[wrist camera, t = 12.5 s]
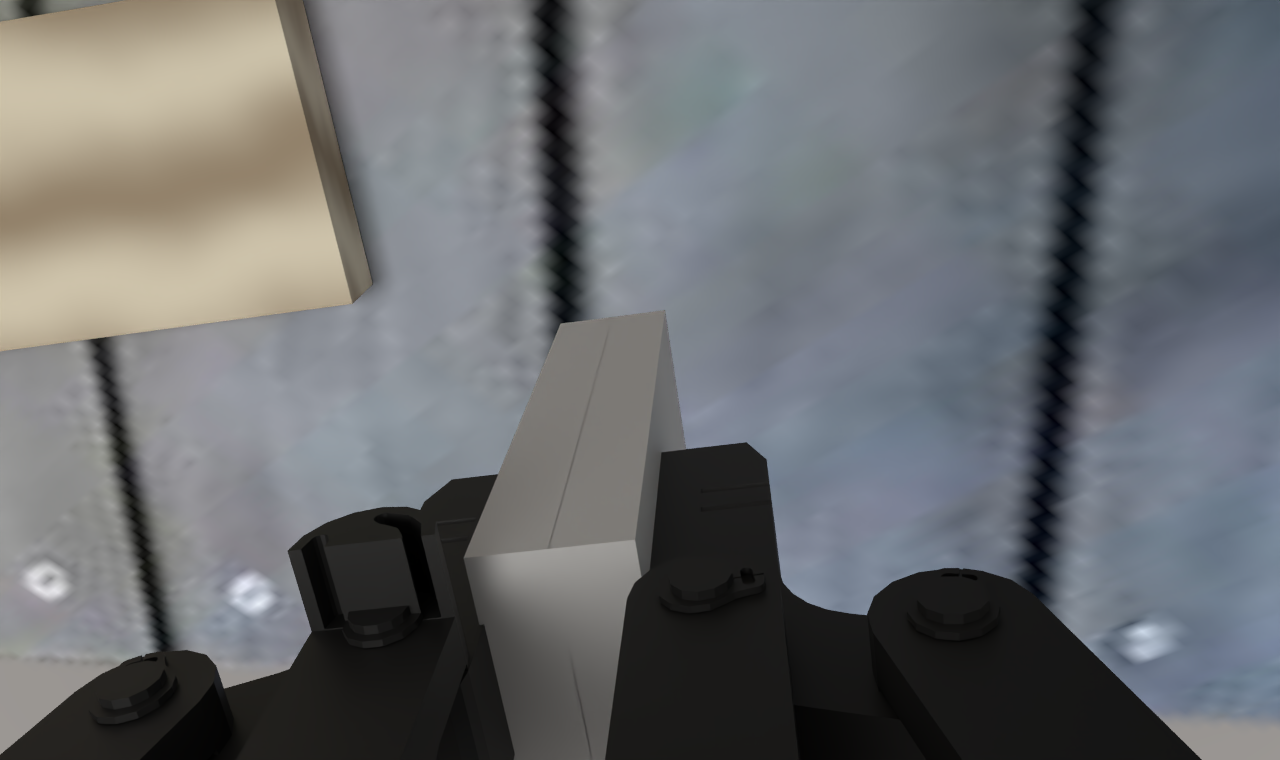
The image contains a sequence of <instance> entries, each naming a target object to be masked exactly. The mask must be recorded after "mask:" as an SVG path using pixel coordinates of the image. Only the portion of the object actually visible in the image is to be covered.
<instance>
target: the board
mask: <svg viewBox="0 0 1280 760" xmlns="http://www.w3.org/2000/svg"><path fill="white" fill-rule="evenodd" d="M372 285H373V283H372V279H371V275H370V271H369V267H368V263H367V259H366V255H365V251H364V247H363V243H362V239H361V235H360V231H359V227H358V222H357V218H356V214H355V210H354V206H353V202H352V198H351V194H350V190H349V186H348V182H347V178H346V174H345V170H344V166H343V162H342V158H341V154H340V149H339V145H338V141H337V137H336V133H335V129H334V125H333V121H332V117H331V113H330V109H329V105H328V101H327V97H326V93H325V89H324V85H323V81H322V76H321V72H320V68H319V64H318V60H317V56H316V52H315V48H314V44H313V40H312V36H311V32H310V28H309V24H308V20H307V16H306V12H305V8H304V3H303V0H126V1H120V2H114V3H108V4H102V5H96V6H90V7H84V8H79V9H73V10H67V11H61V12H55V13H49V14H43V15H38V16H32V17H26V18H20V19H14V20H8V21H2V22H0V351H5V350H12V349H20V348H27V347H35V346H42V345H50V344H57V343H64V342H72V341H79V340H87V339H94V338H101V337H109V336H116V335H124V334H131V333H139V332H146V331H153V330H161V329H168V328H176V327H183V326H191V325H198V324H205V323H213V322H220V321H228V320H235V319H243V318H250V317H257V316H265V315H272V314H280V313H287V312H294V311H302V310H309V309H317V308H324V307H332V306H339V305H346V304H353V303H354V302H355V301H356V300H357V299H358V298H359V297H360V296H361V295H362V294H363V293H364V292H365V291H366V290H367V289H368V288H369V287H371V286H372Z"/></svg>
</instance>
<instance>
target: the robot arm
mask: <svg viewBox="0 0 1280 760" xmlns="http://www.w3.org/2000/svg"><path fill="white" fill-rule="evenodd" d="M288 554H289V557H290V561H291V564H292V567H293V571H294V574H295V577H296V581H297V584H298V587H299V591H300V594H301V597H302V601H303V604H304V607H305V610H306V614H307V617H308V620H309V624H310V627H311V630H312V632H311V634H310V636H309V637H308V639H307V641H306V642H305V644H304V646H303V647H302V649H301V651H300V653H299V654H298V656H297V658H296V659H295V661H294V663H293V664H292V666H291V668H290V669H289V670H286V671H283V672H280V673H277V674H274V675H270V676H267V677H263V678H260V679H256V680H253V681H250V682H246V683H243V684H239V685H236V686H232V687H229V688H225V689H224V688H223V685H222V682H221V679H220V676H219V673H218V670H217V667H216V665H215V664H214V663H213V662H212V661H211V660H210V658H209V657H208V656H207V655H205V654H201V653H197V652H192V651H188V650H183V651H170V652H155V653H150V654H146V655H145V657H142V655H141V656H138V657H135V658H132V659H129V660H127V661H125V662H123V663H122V664H121V665H120V666H118V667H116V668H114V669H111V670H109V671H107V672H105V673H103V674H101V675H99V676H98V677H96V678H95V679H94V680H92V681H91V682H89V683H88V684H86V685H85V686H83V687H82V688H80V689H79V690H77V691H76V692H74V694H72V695H71V696H70V697H69V698H67V699H66V700H65V701H64V702H63V703H61V704H60V705H59V706H58V707H57V708H55V709H54V710H53V711H52V712H51V713H49V714H48V715H47V716H46V717H45V718H44V719H42V720H41V721H40V722H39V723H38V724H36V725H35V726H34V727H33V728H32V729H31V730H30V731H28V732H27V733H26V734H25V735H23V736H22V737H21V738H20V739H18V740H17V741H16V742H15V743H14V744H13V745H11V746H10V747H9V748H8V749H7V750H5V751H4V752H3V753H2V754H1V755H0V760H1201V759H1200V758H1199V757H1198V756H1197V755H1196V754H1195V753H1194V752H1193V751H1192V750H1191V749H1190V748H1189V747H1188V746H1187V745H1186V744H1185V743H1184V742H1183V741H1182V740H1181V739H1180V738H1179V737H1178V736H1177V735H1176V734H1175V733H1174V732H1173V731H1172V730H1171V729H1170V728H1169V727H1168V726H1167V725H1166V724H1165V723H1164V722H1163V721H1162V720H1161V719H1160V718H1159V717H1158V716H1157V715H1156V714H1155V713H1154V712H1153V711H1152V710H1151V709H1150V708H1149V707H1148V706H1147V705H1145V704H1144V703H1143V702H1142V701H1141V700H1140V699H1139V698H1138V697H1137V696H1136V695H1135V694H1134V693H1133V692H1132V691H1131V690H1130V689H1129V688H1128V687H1127V686H1126V685H1125V684H1124V683H1123V682H1122V681H1121V680H1120V679H1119V678H1118V677H1117V676H1116V675H1115V674H1114V673H1113V672H1112V671H1111V670H1110V669H1109V668H1108V667H1107V666H1106V665H1105V664H1104V663H1103V662H1102V661H1101V660H1100V659H1099V658H1098V657H1097V656H1096V655H1095V654H1094V653H1093V652H1092V651H1090V650H1089V649H1088V648H1087V647H1086V646H1085V645H1084V644H1083V643H1082V642H1081V641H1080V640H1079V639H1078V638H1077V637H1076V636H1075V635H1074V634H1073V633H1072V632H1071V631H1070V630H1069V629H1068V628H1067V627H1066V626H1065V625H1064V624H1063V623H1062V622H1061V621H1060V620H1059V619H1058V618H1057V617H1056V616H1055V615H1054V614H1053V613H1052V612H1051V611H1050V610H1049V609H1048V608H1047V607H1046V606H1045V605H1044V604H1043V603H1042V602H1041V601H1040V600H1039V599H1038V598H1037V597H1035V596H1034V595H1033V594H1032V593H1031V592H1029V591H1028V590H1026V589H1024V588H1023V587H1021V586H1020V585H1018V584H1017V583H1015V582H1014V581H1012V580H1010V579H1007V578H1004V577H1000V576H997V575H994V574H990V573H987V572H984V571H978V570H971V569H964V568H963V569H959V568H943V569H940V570H933V571H925V572H918V573H916V574H913V575H910V576H907V577H905V578H902V579H899V580H896V581H894V582H892V583H891V584H889V585H888V586H887V587H886V588H884V589H883V590H882V591H880V592H879V593H878V594H877V595H875V596H874V598H873V601H872V603H871V606H870V608H869V611H868V613H867V615H858V614H849V613H843V612H837V611H832V610H827V609H824V608H821V607H818V606H815V605H812V604H809V603H807V602H805V601H804V600H802V599H800V598H799V597H797V596H796V595H794V594H793V593H792V592H791V591H790V590H789V589H788V588H787V587H786V586H785V585H784V584H783V581H782V578H781V572H780V564H779V556H778V548H777V540H776V532H775V524H774V516H773V508H772V500H771V492H770V484H769V476H768V468H767V460H766V459H765V458H764V457H763V456H762V455H761V454H759V453H758V452H757V451H756V450H755V449H753V448H752V447H751V446H750V445H749V444H748V443H737V444H729V445H720V446H711V447H703V448H694V449H686V445H685V439H684V432H683V426H682V419H681V413H680V406H679V399H678V393H677V386H676V380H675V373H674V367H673V360H672V353H671V347H670V340H669V334H668V327H667V320H666V314H665V310H663V311H656V312H648V313H640V314H633V315H625V316H617V317H610V318H602V319H594V320H586V321H579V322H571V323H563V324H560V327H559V329H558V332H557V334H556V336H555V339H554V341H553V344H552V346H551V348H550V351H549V353H548V356H547V358H546V361H545V363H544V365H543V368H542V370H541V373H540V375H539V377H538V380H537V382H536V385H535V387H534V389H533V392H532V394H531V397H530V399H529V402H528V404H527V406H526V409H525V411H524V414H523V416H522V418H521V421H520V423H519V426H518V428H517V430H516V433H515V435H514V438H513V440H512V442H511V445H510V447H509V450H508V452H507V455H506V457H505V459H504V462H503V464H502V467H501V469H500V471H499V474H496V475H488V476H479V477H470V478H462V479H453V480H451V481H450V482H449V483H447V484H446V485H445V486H444V487H442V488H441V489H440V490H439V491H437V492H436V493H435V494H434V495H432V496H431V497H430V498H429V499H427V500H426V501H425V502H424V504H423V506H422V508H421V510H418V509H414V508H410V507H381V508H376V509H371V510H366V511H361V512H356V513H352V514H349V515H347V516H344V517H341V518H338V519H336V520H333V521H330V522H327V523H325V524H324V525H322V526H320V527H318V528H317V529H315V530H313V531H311V532H309V533H308V534H306V535H304V536H303V537H302V538H301V539H300V540H299V541H297V542H296V543H295V544H294V545H293V546H292V547H291V548H290V549H289V550H288Z"/></svg>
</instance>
